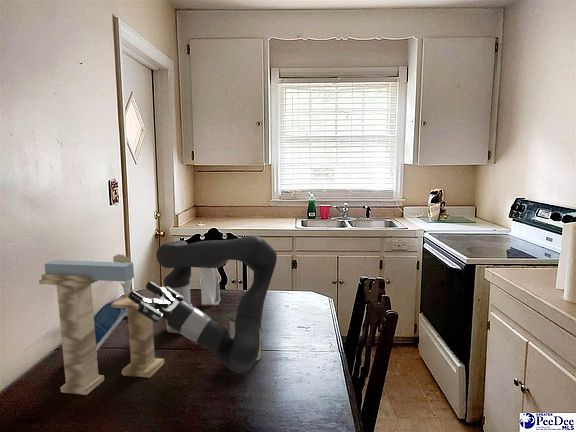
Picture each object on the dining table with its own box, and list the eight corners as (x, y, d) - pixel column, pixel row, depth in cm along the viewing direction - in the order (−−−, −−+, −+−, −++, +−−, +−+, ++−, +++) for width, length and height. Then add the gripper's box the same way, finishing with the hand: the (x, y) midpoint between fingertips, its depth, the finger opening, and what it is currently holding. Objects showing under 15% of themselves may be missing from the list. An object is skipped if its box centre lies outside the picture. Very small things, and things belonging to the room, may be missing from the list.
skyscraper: (217, 306, 187) (214, 242, 183) (198, 306, 187) (195, 242, 183) (220, 300, 195) (218, 238, 191) (202, 300, 195) (199, 239, 191)
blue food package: (64, 353, 132) (116, 288, 133) (80, 341, 144) (128, 282, 145) (80, 365, 132) (133, 300, 134) (95, 353, 144) (143, 293, 146)
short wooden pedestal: (171, 363, 136) (167, 297, 133) (157, 378, 127) (153, 307, 124) (131, 360, 139) (126, 295, 136) (114, 374, 130) (109, 305, 127)
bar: (134, 277, 117) (133, 262, 117) (125, 281, 114) (124, 266, 113) (56, 274, 122) (55, 260, 122) (45, 278, 118) (44, 263, 118)
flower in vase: (148, 311, 182) (145, 253, 178) (125, 320, 172) (121, 259, 169) (128, 306, 189) (124, 250, 185) (105, 314, 179) (100, 255, 176)
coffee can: (238, 347, 147) (237, 306, 145) (267, 350, 144) (266, 310, 142) (224, 360, 137) (223, 318, 135) (254, 365, 134) (253, 321, 132)
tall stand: (114, 380, 126) (105, 269, 122) (95, 396, 118) (84, 278, 113) (72, 376, 129) (62, 267, 125) (50, 392, 121) (38, 276, 116)
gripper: (206, 300, 120) (157, 270, 122) (184, 320, 106) (129, 285, 108) (194, 322, 122) (147, 291, 123) (171, 344, 108) (117, 309, 109)
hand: (139, 288), depth 115 cm, fingers open, 8 cm apart
